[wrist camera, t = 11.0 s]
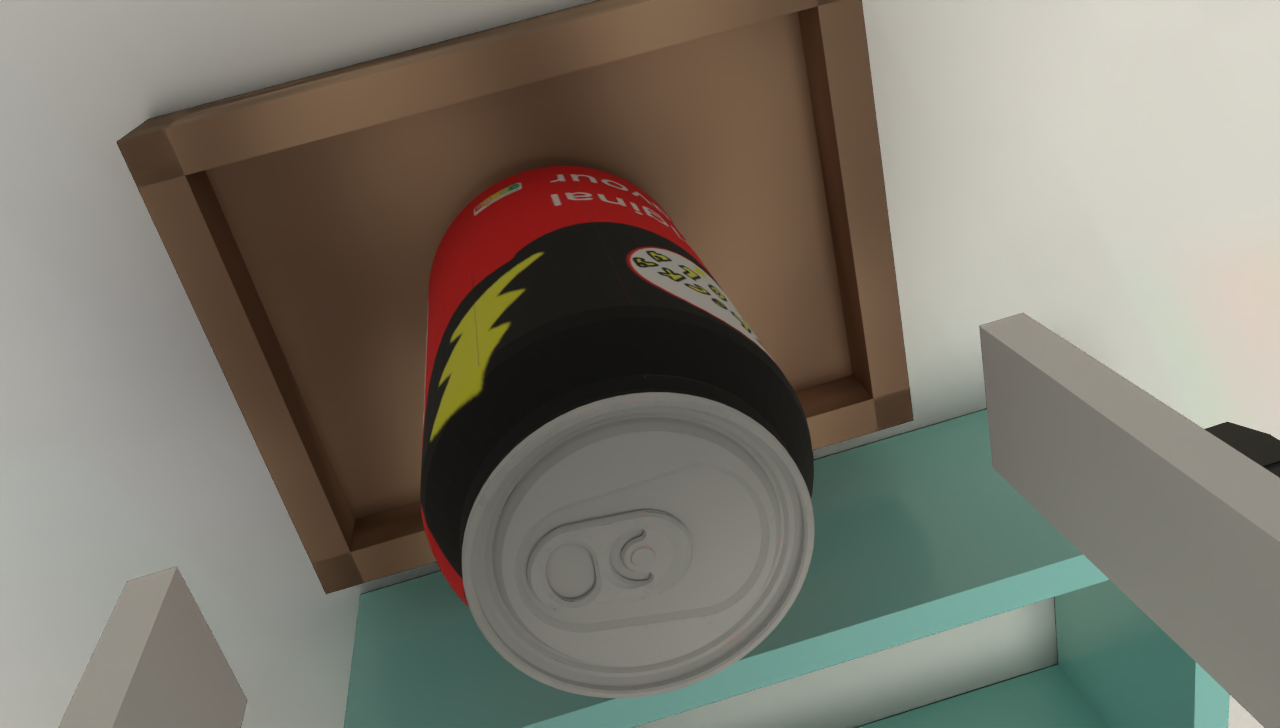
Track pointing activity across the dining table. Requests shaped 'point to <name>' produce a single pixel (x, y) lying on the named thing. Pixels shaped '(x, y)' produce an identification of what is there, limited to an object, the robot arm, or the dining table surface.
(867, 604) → the teal open box
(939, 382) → the dining table surface
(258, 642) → the dining table surface
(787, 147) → the tray
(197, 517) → the dining table surface
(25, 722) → the dining table surface
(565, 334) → the beverage can
